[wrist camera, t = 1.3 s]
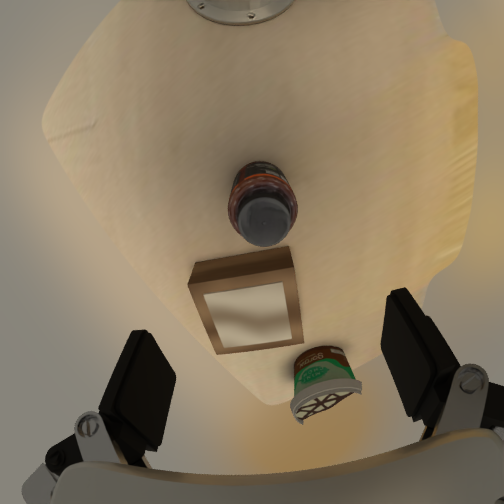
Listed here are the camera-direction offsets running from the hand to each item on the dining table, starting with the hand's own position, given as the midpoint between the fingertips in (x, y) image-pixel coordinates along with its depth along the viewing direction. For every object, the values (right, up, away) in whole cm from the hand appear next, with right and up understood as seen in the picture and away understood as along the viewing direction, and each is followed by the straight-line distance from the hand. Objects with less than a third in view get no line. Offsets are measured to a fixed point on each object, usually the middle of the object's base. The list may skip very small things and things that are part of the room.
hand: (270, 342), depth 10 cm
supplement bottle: (0, +11, +20) cm, 23 cm away
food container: (+9, -14, +33) cm, 37 cm away
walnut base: (-1, -2, +27) cm, 27 cm away
